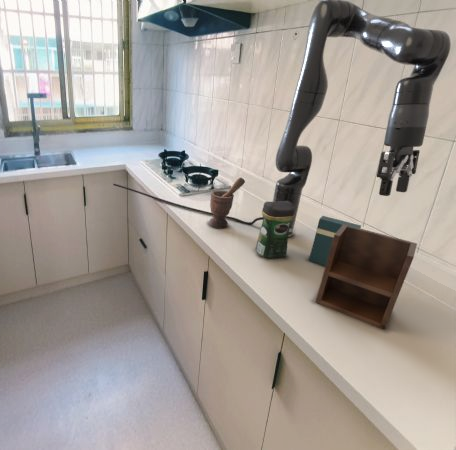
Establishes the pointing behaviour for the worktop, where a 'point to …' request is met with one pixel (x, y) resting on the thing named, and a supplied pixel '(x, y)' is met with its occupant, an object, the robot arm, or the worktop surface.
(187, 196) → the worktop surface
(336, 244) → the bookshelf
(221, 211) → the mortar and pestle
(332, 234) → the book
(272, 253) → the coffee jar
